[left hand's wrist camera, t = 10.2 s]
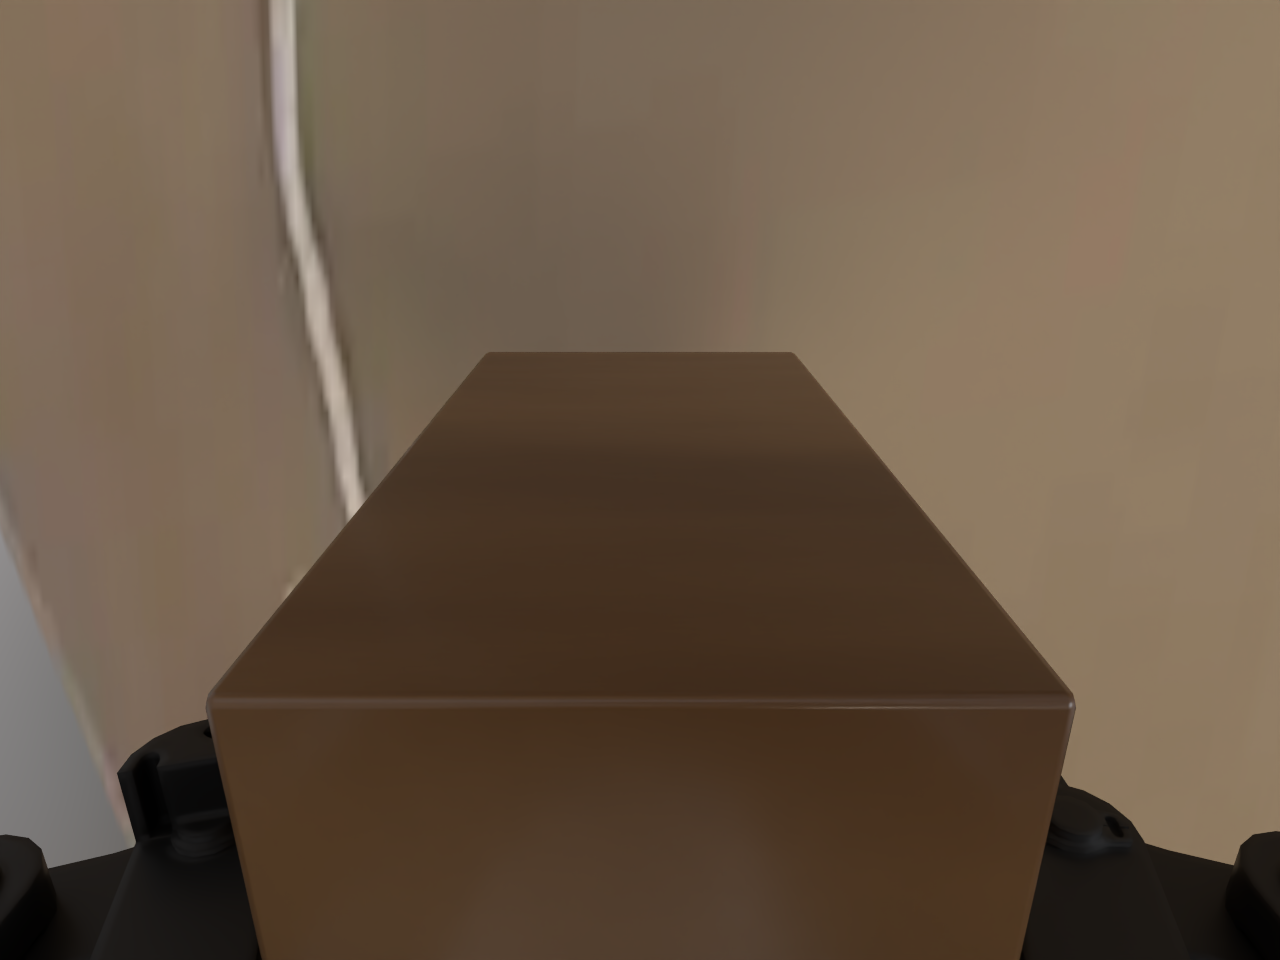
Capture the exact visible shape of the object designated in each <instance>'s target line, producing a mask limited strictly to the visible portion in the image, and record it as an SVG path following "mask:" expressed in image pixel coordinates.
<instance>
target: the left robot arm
mask: <svg viewBox="0 0 1280 960" xmlns="http://www.w3.org/2000/svg"><path fill="white" fill-rule="evenodd" d="M117 775H118V778H119V782H120V786H121V789H122V793H123V796H124V800H125V804H126V807H127V811H128V814H129V818H130V822H131V825H132V829H133V832H134V836H135V840H136V844H135V846H134V847H133V848H130V849H126V850H123V851H120V852H117V853H113V854H109V855H105V856H101V857H96V858H92V859H88V860H83V861H79V862H75V863H70V864H66V865H62V866H58V867H53V868H49V869H48V868H47V865H46V862H45V859H44V856H43V853H42V850H41V848H40V847H38V846H37V845H36V844H35V843H34V842H33V841H32V840H30V839H29V838H25V837H18V836H12V835H0V960H262V958H261V954H260V949H259V945H258V940H257V936H256V931H255V927H254V922H253V918H252V914H251V909H250V905H249V900H248V896H247V891H246V887H245V882H244V878H243V873H242V869H241V864H240V860H239V855H238V851H237V846H236V842H235V837H234V833H233V828H232V824H231V819H230V815H229V810H228V806H227V801H226V797H225V792H224V788H223V784H222V779H221V775H220V770H219V766H218V761H217V757H216V752H215V748H214V743H213V739H212V734H211V730H210V725H209V721H208V719H207V720H203V721H199V722H195V723H191V724H187V725H183V726H180V727H178V728H175V729H173V730H171V731H169V732H167V733H164V734H162V735H160V736H158V737H156V738H153V739H152V740H151V741H149V742H148V743H147V744H145V745H144V746H142V747H141V748H140V749H138V750H137V751H136V752H134V753H133V754H131V756H130V757H129V758H128V759H127V761H126V762H125V763H124V765H123V766H122V767H121V769H120V770H119V771H118V773H117ZM1020 960H1280V832H1278V831H1274V832H1267V833H1261V834H1254V835H1252V836H1251V837H1250V838H1249V839H1248V840H1246V841H1245V842H1244V843H1243V844H1242V845H1241V846H1240V849H1239V852H1238V855H1237V858H1236V861H1235V864H1234V865H1230V864H1225V863H1221V862H1217V861H1212V860H1208V859H1204V858H1199V857H1195V856H1191V855H1186V854H1182V853H1178V852H1173V851H1169V850H1166V849H1162V848H1159V847H1156V846H1152V845H1149V844H1146V843H1145V842H1144V840H1143V839H1142V837H1141V836H1140V834H1139V833H1138V831H1137V830H1136V828H1135V827H1134V825H1133V824H1132V822H1131V821H1130V820H1129V819H1127V818H1126V817H1125V816H1124V815H1123V814H1121V813H1120V812H1119V811H1118V810H1117V809H1115V808H1114V807H1113V806H1112V805H1110V804H1109V803H1107V802H1105V801H1103V800H1101V799H1099V798H1097V797H1095V796H1093V795H1091V794H1089V793H1088V792H1086V791H1084V790H1080V789H1076V788H1073V787H1069V786H1068V785H1067V783H1066V782H1065V780H1064V779H1063V778H1062V776H1061V777H1060V781H1059V786H1058V790H1057V794H1056V799H1055V803H1054V808H1053V812H1052V817H1051V821H1050V826H1049V830H1048V835H1047V839H1046V844H1045V848H1044V852H1043V857H1042V861H1041V866H1040V870H1039V875H1038V879H1037V884H1036V888H1035V893H1034V897H1033V902H1032V906H1031V910H1030V915H1029V919H1028V924H1027V928H1026V933H1025V937H1024V942H1023V946H1022V951H1021V955H1020Z"/></svg>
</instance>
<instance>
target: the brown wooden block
mask: <svg viewBox="0 0 1280 960" xmlns="http://www.w3.org/2000/svg"><path fill="white" fill-rule="evenodd" d="M1075 710H1076V706H1075V700H1074V696H1073V693H1072V692H1071V691H1070V690H1069V688H1068V687H1067V686H1066V685H1065V683H1064V682H1063V681H1062V680H1061V679H1060V677H1059V676H1058V675H1057V674H1056V672H1055V671H1054V670H1053V669H1052V668H1051V666H1050V665H1049V664H1048V663H1047V661H1046V660H1045V659H1044V658H1043V657H1042V655H1041V654H1040V653H1039V652H1038V650H1037V649H1036V648H1035V647H1034V646H1033V644H1032V643H1031V642H1030V641H1029V639H1028V638H1027V637H1026V636H1025V635H1024V633H1023V632H1022V631H1021V630H1020V628H1019V627H1018V626H1017V625H1016V624H1015V622H1014V621H1013V620H1012V619H1011V617H1010V616H1009V615H1008V614H1007V613H1006V611H1005V610H1004V609H1003V608H1002V606H1001V605H1000V604H999V603H998V602H997V600H996V599H995V598H994V597H993V596H992V594H991V593H990V592H989V591H988V589H987V588H986V587H985V586H984V585H983V583H982V582H981V581H980V580H979V578H978V577H977V576H976V575H975V574H974V572H973V571H972V570H971V569H970V567H969V566H968V565H967V564H966V563H965V561H964V560H963V559H962V558H961V556H960V555H959V554H958V553H957V552H956V550H955V549H954V548H953V547H952V545H951V544H950V543H949V542H948V541H947V539H946V538H945V537H944V536H943V534H942V533H941V532H940V531H939V530H938V528H937V527H936V526H935V525H934V523H933V522H932V521H931V520H930V519H929V517H928V516H927V515H926V514H925V512H924V511H923V510H922V509H921V508H920V506H919V505H918V504H917V503H916V501H915V500H914V499H913V498H912V497H911V495H910V494H909V493H908V492H907V491H906V489H905V488H904V487H903V486H902V484H901V483H900V482H899V481H898V480H897V478H896V477H895V476H894V475H893V473H892V472H891V471H890V470H889V469H888V467H887V466H886V465H885V464H884V462H883V461H882V460H881V459H880V458H879V456H878V455H877V454H876V453H875V451H874V450H873V449H872V448H871V447H870V445H869V444H868V443H867V442H866V440H865V439H864V438H863V437H862V436H861V434H860V433H859V432H858V431H857V429H856V428H855V427H854V426H853V425H852V423H851V422H850V421H849V420H848V418H847V417H846V416H845V415H844V414H843V412H842V411H841V410H840V409H839V407H838V406H837V405H836V404H835V403H834V401H833V400H832V399H831V398H830V396H829V395H828V394H827V393H826V392H825V390H824V389H823V388H822V387H821V385H820V384H819V383H818V382H817V381H816V379H815V378H814V377H813V376H812V375H811V373H810V372H809V371H808V370H807V368H806V367H805V366H804V365H803V364H802V362H801V361H800V360H799V359H798V357H797V356H796V355H795V354H794V353H791V352H489V353H487V354H485V356H484V357H483V358H482V359H481V360H480V362H479V363H478V364H477V365H476V367H475V368H474V369H473V370H472V371H471V373H470V374H469V375H468V376H467V378H466V379H465V380H464V381H463V382H462V384H461V385H460V386H459V387H458V389H457V390H456V391H455V392H454V394H453V395H452V396H451V397H450V398H449V400H448V401H447V402H446V403H445V405H444V406H443V407H442V408H441V409H440V411H439V412H438V413H437V414H436V416H435V417H434V418H433V419H432V420H431V422H430V423H429V424H428V425H427V427H426V428H425V429H424V430H423V432H422V433H421V434H420V435H419V436H418V438H417V439H416V440H415V441H414V443H413V444H412V445H411V446H410V447H409V449H408V450H407V451H406V452H405V454H404V455H403V456H402V457H401V458H400V460H399V461H398V462H397V463H396V465H395V466H394V467H393V468H392V469H391V471H390V472H389V473H388V474H387V476H386V477H385V478H384V479H383V481H382V482H381V483H380V484H379V485H378V487H377V488H376V489H375V490H374V492H373V493H372V494H371V495H370V496H369V498H368V499H367V500H366V501H365V503H364V504H363V505H362V506H361V507H360V509H359V510H358V511H357V512H356V514H355V515H354V516H353V517H352V519H351V520H350V521H349V522H348V523H347V525H346V526H345V527H344V528H343V530H342V531H341V532H340V533H339V534H338V536H337V537H336V538H335V539H334V541H333V542H332V543H331V544H330V545H329V547H328V548H327V549H326V550H325V552H324V553H323V554H322V555H321V557H320V558H319V559H318V560H317V561H316V563H315V564H314V565H313V566H312V568H311V569H310V570H309V571H308V572H307V574H306V575H305V576H304V577H303V579H302V580H301V581H300V582H299V583H298V585H297V586H296V587H295V588H294V590H293V591H292V592H291V593H290V594H289V596H288V597H287V598H286V599H285V601H284V602H283V603H282V604H281V606H280V607H279V608H278V609H277V610H276V612H275V613H274V614H273V615H272V617H271V618H270V619H269V620H268V621H267V623H266V624H265V625H264V626H263V628H262V629H261V630H260V631H259V632H258V634H257V635H256V636H255V637H254V639H253V640H252V641H251V642H250V644H249V645H248V646H247V647H246V648H245V650H244V651H243V652H242V653H241V655H240V656H239V657H238V658H237V659H236V661H235V662H234V663H233V664H232V666H231V667H230V668H229V669H228V670H227V672H226V673H225V674H224V675H223V677H222V678H221V679H220V680H219V682H218V683H217V684H216V685H215V686H214V688H213V689H212V690H211V691H210V693H209V695H208V698H207V702H206V712H207V716H208V721H209V725H210V730H211V734H212V739H213V743H214V748H215V752H216V757H217V761H218V766H219V770H220V775H221V779H222V784H223V788H224V792H225V797H226V801H227V806H228V810H229V815H230V819H231V824H232V828H233V833H234V837H235V842H236V846H237V851H238V855H239V860H240V864H241V869H242V873H243V878H244V882H245V887H246V891H247V896H248V900H249V905H250V909H251V914H252V918H253V922H254V927H255V931H256V936H257V940H258V945H259V949H260V954H261V958H262V960H1020V955H1021V951H1022V946H1023V942H1024V937H1025V933H1026V928H1027V924H1028V919H1029V915H1030V910H1031V906H1032V902H1033V897H1034V893H1035V888H1036V884H1037V879H1038V875H1039V870H1040V866H1041V861H1042V857H1043V852H1044V848H1045V844H1046V839H1047V835H1048V830H1049V826H1050V821H1051V817H1052V812H1053V808H1054V803H1055V799H1056V794H1057V790H1058V786H1059V781H1060V777H1061V772H1062V768H1063V763H1064V759H1065V754H1066V750H1067V745H1068V741H1069V736H1070V732H1071V728H1072V723H1073V719H1074V714H1075Z"/></svg>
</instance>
